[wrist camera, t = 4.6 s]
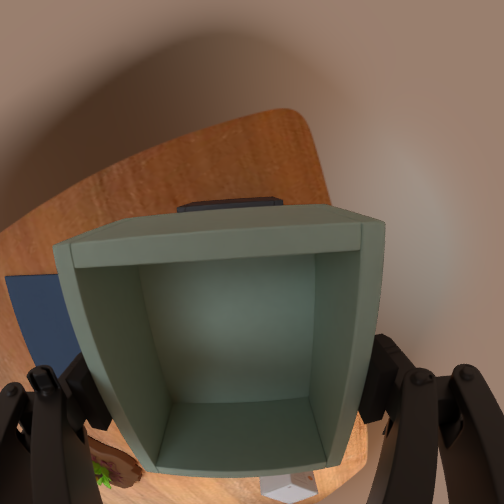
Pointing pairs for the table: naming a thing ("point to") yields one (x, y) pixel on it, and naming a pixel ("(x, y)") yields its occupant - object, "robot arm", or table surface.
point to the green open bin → (229, 333)
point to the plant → (113, 466)
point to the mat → (44, 320)
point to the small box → (289, 486)
